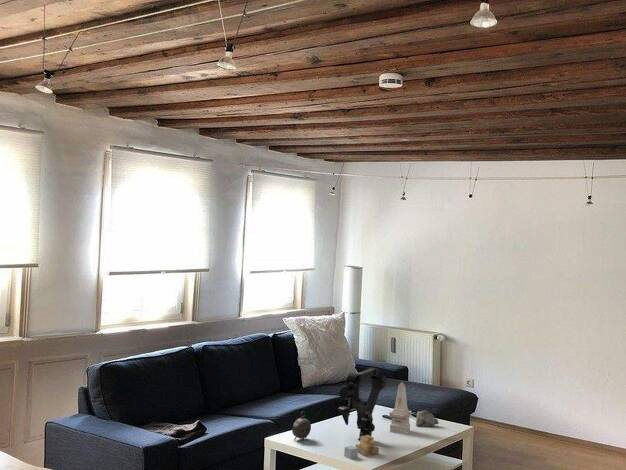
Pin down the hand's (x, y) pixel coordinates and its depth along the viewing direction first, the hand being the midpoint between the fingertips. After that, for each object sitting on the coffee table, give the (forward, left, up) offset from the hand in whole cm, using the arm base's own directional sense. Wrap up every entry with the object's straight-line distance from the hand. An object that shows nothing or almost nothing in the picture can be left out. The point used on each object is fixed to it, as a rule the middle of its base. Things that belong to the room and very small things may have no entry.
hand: (353, 423), depth 374 cm
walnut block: (+1, +14, -12) cm, 19 cm away
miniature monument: (-44, -7, -12) cm, 46 cm away
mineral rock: (-67, -7, -12) cm, 68 cm away
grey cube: (+13, +15, -12) cm, 23 cm away
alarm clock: (+19, -21, -12) cm, 31 cm away
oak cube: (+2, +14, -8) cm, 16 cm away
